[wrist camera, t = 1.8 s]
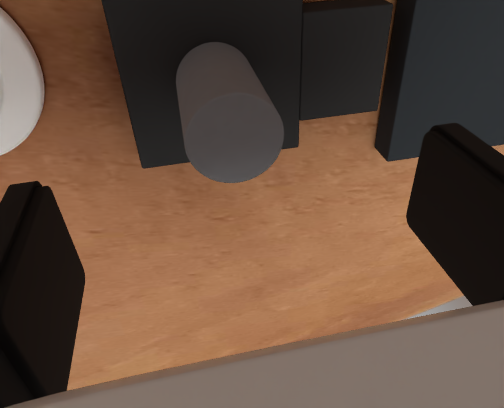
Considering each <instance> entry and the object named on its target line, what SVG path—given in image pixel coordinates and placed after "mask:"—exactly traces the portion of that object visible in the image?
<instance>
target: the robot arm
mask: <svg viewBox="0 0 504 408" xmlns="http://www.w3.org/2000/svg"><path fill="white" fill-rule="evenodd" d="M406 218H407V223H408V225H409V227H410V228H411V229H412V231H413V232H414V233H415V234H416V236H417V237H418V238H419V239H420V241H421V242H422V243H423V244H424V246H425V247H426V248H427V249H428V251H429V252H430V253H431V254H432V256H433V257H434V258H435V259H436V261H437V262H438V263H439V264H440V266H441V267H442V268H443V269H444V271H445V272H446V273H447V274H448V276H449V277H450V278H451V279H452V281H453V282H454V283H455V284H456V286H457V287H458V288H459V289H460V291H461V292H462V293H463V294H464V296H465V297H466V298H467V299H468V300H469V302H470V303H471V304H472V305H473V306H471V307H466V308H462V309H456V310H451V311H446V312H441V313H436V314H431V315H426V316H421V317H416V318H411V319H406V320H401V321H396V322H391V323H386V324H381V325H376V326H371V327H366V328H361V329H356V330H351V331H347V332H342V333H337V334H332V335H327V336H322V337H317V338H312V339H307V340H302V341H298V342H293V343H288V344H283V345H278V346H273V347H268V348H264V349H259V350H254V351H249V352H244V353H240V354H235V355H230V356H225V357H221V358H216V359H211V360H206V361H201V362H197V363H192V364H187V365H182V366H178V367H173V368H168V369H163V370H158V371H154V372H149V373H144V374H140V375H135V376H131V377H126V378H122V379H118V380H113V381H109V382H104V383H100V384H95V385H91V386H86V387H82V388H78V389H73V390H69V391H67V385H68V380H69V374H70V368H71V362H72V356H73V350H74V344H75V339H76V333H77V327H78V321H79V315H80V309H81V303H82V298H83V292H84V286H85V273H84V269H83V266H82V264H81V261H80V259H79V256H78V254H77V251H76V249H75V246H74V244H73V242H72V239H71V237H70V234H69V232H68V229H67V227H66V224H65V222H64V219H63V217H62V214H61V212H60V210H59V207H58V205H57V202H56V200H55V197H54V195H53V192H52V190H51V188H50V187H49V186H43V187H42V185H41V184H40V183H39V182H38V181H34V182H26V183H19V184H12V185H10V186H9V187H8V189H7V191H6V193H5V195H4V197H3V199H2V201H1V203H0V408H504V155H502V154H501V153H499V152H498V151H497V150H495V149H494V148H492V147H491V146H490V145H488V144H487V143H485V142H484V141H483V140H481V139H480V138H478V137H477V136H476V135H474V134H473V133H471V132H470V131H469V130H467V129H466V128H464V127H463V126H462V125H460V124H458V123H449V124H442V125H434V126H433V127H431V129H430V130H429V132H427V133H426V134H425V135H424V138H423V141H422V146H421V150H420V155H419V160H418V164H417V169H416V173H415V178H414V182H413V187H412V191H411V196H410V200H409V205H408V209H407V215H406Z"/></svg>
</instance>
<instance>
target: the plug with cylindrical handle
mask: <svg viewBox="0 0 504 408" xmlns="http://www.w3.org/2000/svg"><path fill="white" fill-rule="evenodd" d="M102 4H103V8H104V13H105V17H106V21H107V25H108V29H109V33H110V37H111V41H112V46H113V50H114V54H115V58H116V62H117V66H118V70H119V75H120V79H121V83H122V87H123V91H124V95H125V99H126V103H127V108H128V112H129V116H130V120H131V124H132V128H133V132H134V137H135V141H136V145H137V149H138V153H139V157H140V161H141V165H142V168H151V167H158V166H165V165H173V164H180V163H187V162H191V164H192V165H193V166H194V168H195V169H196V170H198V171H199V172H200V173H201V174H203V175H204V176H206V177H208V178H209V179H212V180H215V181H218V182H224V183H238V182H243V181H247V180H250V179H252V178H255V177H257V176H258V175H260V174H262V173H263V172H264V171H266V170H267V169H268V168H269V167H270V166H271V165H272V164H273V163H274V161H275V160H276V158H277V157H278V155H279V153H280V151H281V149H288V148H295V147H298V145H299V120H309V119H317V118H324V117H332V116H340V115H347V114H355V113H362V112H370V111H377V109H378V103H379V96H380V89H381V83H382V76H383V69H384V63H385V56H386V49H387V43H388V36H389V29H390V23H391V16H392V9H393V4H392V3H390V2H387V1H385V0H333V1H322V2H311V3H303V0H102Z"/></svg>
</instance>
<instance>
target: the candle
mask: <svg viewBox="0 0 504 408" xmlns="http://www.w3.org/2000/svg"><path fill="white" fill-rule="evenodd" d="M44 94H45V91H44V80H43V74H42V70H41V66H40V63H39V61H38V58H37V56H36V54H35V51H34V49H33V47H32V46H31V44H30V42H29V40H28V39H27V37H26V36H25V34H24V33H23V32H22V30H21V29H20V28H19V26H18V25H17V24H16V23H15V22H14V20H13V19H12V18H11V17H10V16H9V15H8V14H7V13H6V12H5V11H4V10H3V9H2V8H0V155H3V154H5V153H7V152H9V151H11V150H12V149H14V148H15V147H17V146H18V145H20V144H21V143H22V142H23V141H24V140H25V139H26V138H27V137H28V136H29V135H30V133H31V132H32V130H33V129H34V127H35V125H36V123H37V121H38V119H39V117H40V115H41V112H42V109H43V104H44Z"/></svg>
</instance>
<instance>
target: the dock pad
mask: <svg viewBox="0 0 504 408" xmlns="http://www.w3.org/2000/svg"><path fill="white" fill-rule="evenodd" d="M449 123H458V124H460V125H462V126H463V127H464V128H466V129H467V130H469V131H470V132H471V133H473V134H474V135H476V136H477V137H478V138H480V139H481V140H483V141H484V142H485V143H487V144H488V145H490V146H496V145H503V144H504V0H397V6H396V13H395V19H394V26H393V32H392V38H391V45H390V51H389V58H388V64H387V71H386V77H385V84H384V90H383V96H382V103H381V109H380V116H379V122H378V129H377V135H376V142H375V148H376V149H377V150H378V152H379V153H380V154H381V155H382V156H383V157H384V158H385V159H386V161H395V160H402V159H409V158H415V157H419V155H420V150H421V146H422V141H423V138H424V135H425V134H426V133H427V132H429V130H430V129H431V127H433V126H434V125H442V124H449Z"/></svg>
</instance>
